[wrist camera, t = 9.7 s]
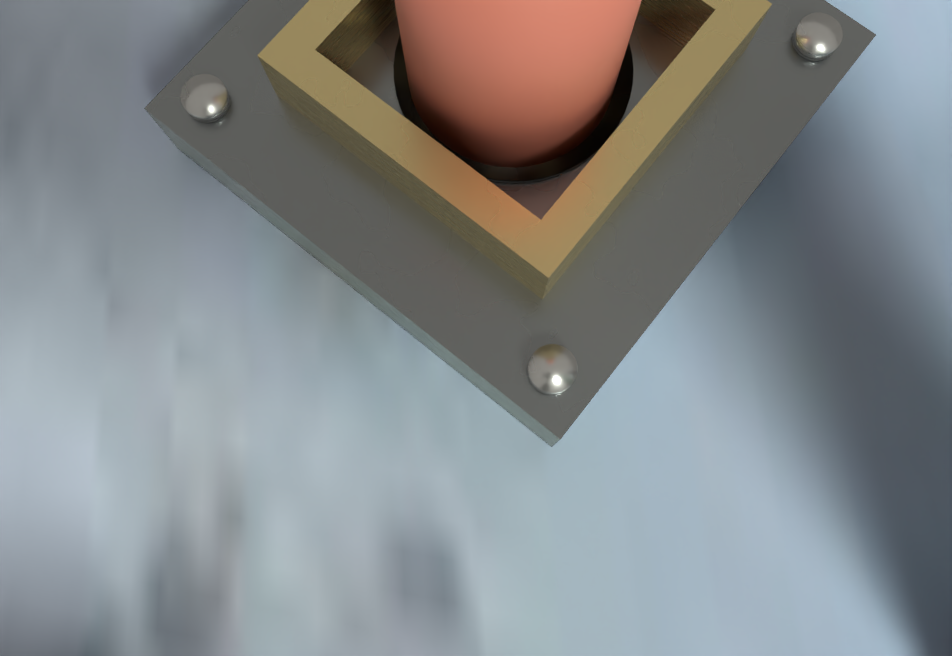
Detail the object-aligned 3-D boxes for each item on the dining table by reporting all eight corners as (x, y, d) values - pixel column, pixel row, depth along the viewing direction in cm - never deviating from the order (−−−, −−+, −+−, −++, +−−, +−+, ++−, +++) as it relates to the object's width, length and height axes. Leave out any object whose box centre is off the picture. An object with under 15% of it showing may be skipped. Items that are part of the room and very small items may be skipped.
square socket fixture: (551, 446, 23) (568, 431, 18) (177, 147, 25) (112, 69, 20) (837, 81, 25) (913, -11, 21) (474, -167, 27) (473, -298, 23)
